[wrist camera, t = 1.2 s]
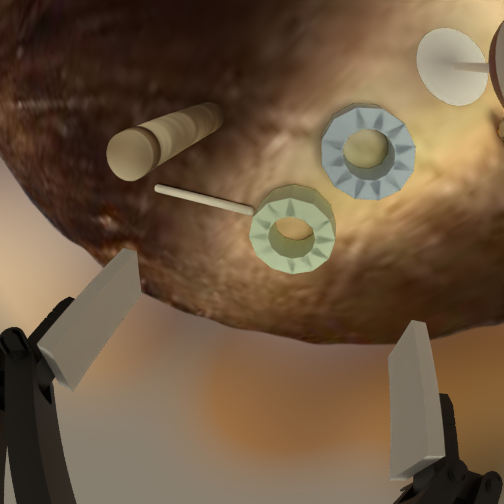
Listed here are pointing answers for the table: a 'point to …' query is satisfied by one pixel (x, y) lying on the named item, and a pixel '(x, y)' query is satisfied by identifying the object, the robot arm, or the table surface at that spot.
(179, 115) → the wooden dowel
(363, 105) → the blue bead
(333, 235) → the bead
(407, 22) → the table surface
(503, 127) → the red green lumpy piece
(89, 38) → the table surface
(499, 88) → the wineglass
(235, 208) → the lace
